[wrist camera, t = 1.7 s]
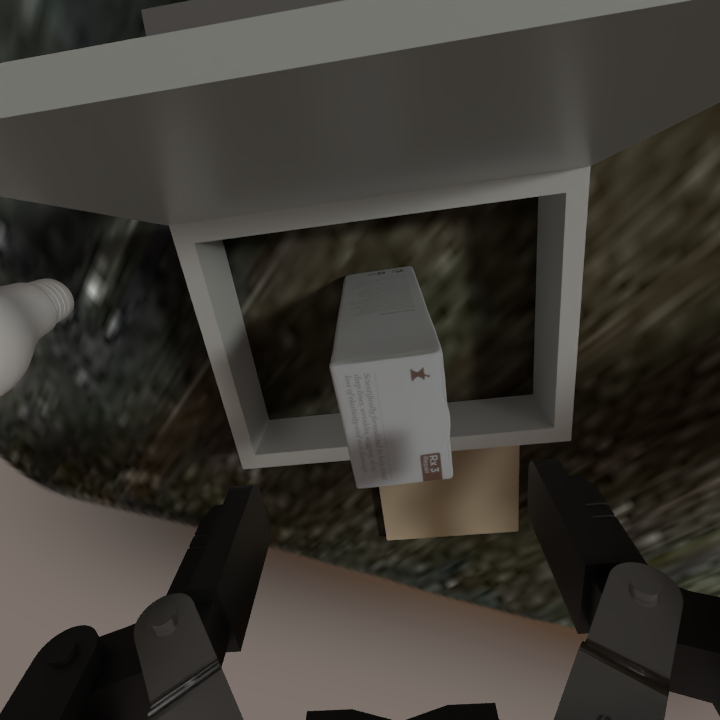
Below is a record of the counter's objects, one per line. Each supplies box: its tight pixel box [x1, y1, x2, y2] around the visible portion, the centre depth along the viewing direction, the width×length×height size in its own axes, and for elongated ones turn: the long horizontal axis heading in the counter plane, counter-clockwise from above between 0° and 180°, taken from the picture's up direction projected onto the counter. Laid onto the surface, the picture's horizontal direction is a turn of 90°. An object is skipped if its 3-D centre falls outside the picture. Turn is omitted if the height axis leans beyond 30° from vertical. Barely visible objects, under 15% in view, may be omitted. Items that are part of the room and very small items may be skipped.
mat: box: [379, 445, 519, 540], centre depth 33 cm, size 10×9×1 cm
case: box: [169, 166, 590, 469], centre depth 26 cm, size 20×15×4 cm
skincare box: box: [329, 266, 453, 489], centre depth 22 cm, size 6×4×12 cm
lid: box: [0, 0, 720, 226], centre depth 14 cm, size 20×14×1 cm
